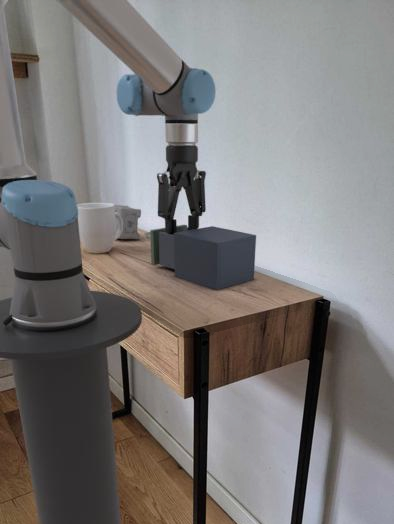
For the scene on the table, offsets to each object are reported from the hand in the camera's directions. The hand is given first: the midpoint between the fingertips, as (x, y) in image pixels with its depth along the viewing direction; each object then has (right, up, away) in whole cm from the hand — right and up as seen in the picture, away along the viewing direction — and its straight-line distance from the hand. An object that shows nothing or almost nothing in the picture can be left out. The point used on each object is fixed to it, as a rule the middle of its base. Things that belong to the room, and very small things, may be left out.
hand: (182, 243), depth 122 cm
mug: (-24, +2, +20) cm, 32 cm away
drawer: (-1, -5, +3) cm, 6 cm away
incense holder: (-20, +10, +36) cm, 42 cm away
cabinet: (+8, -9, -5) cm, 13 cm away
